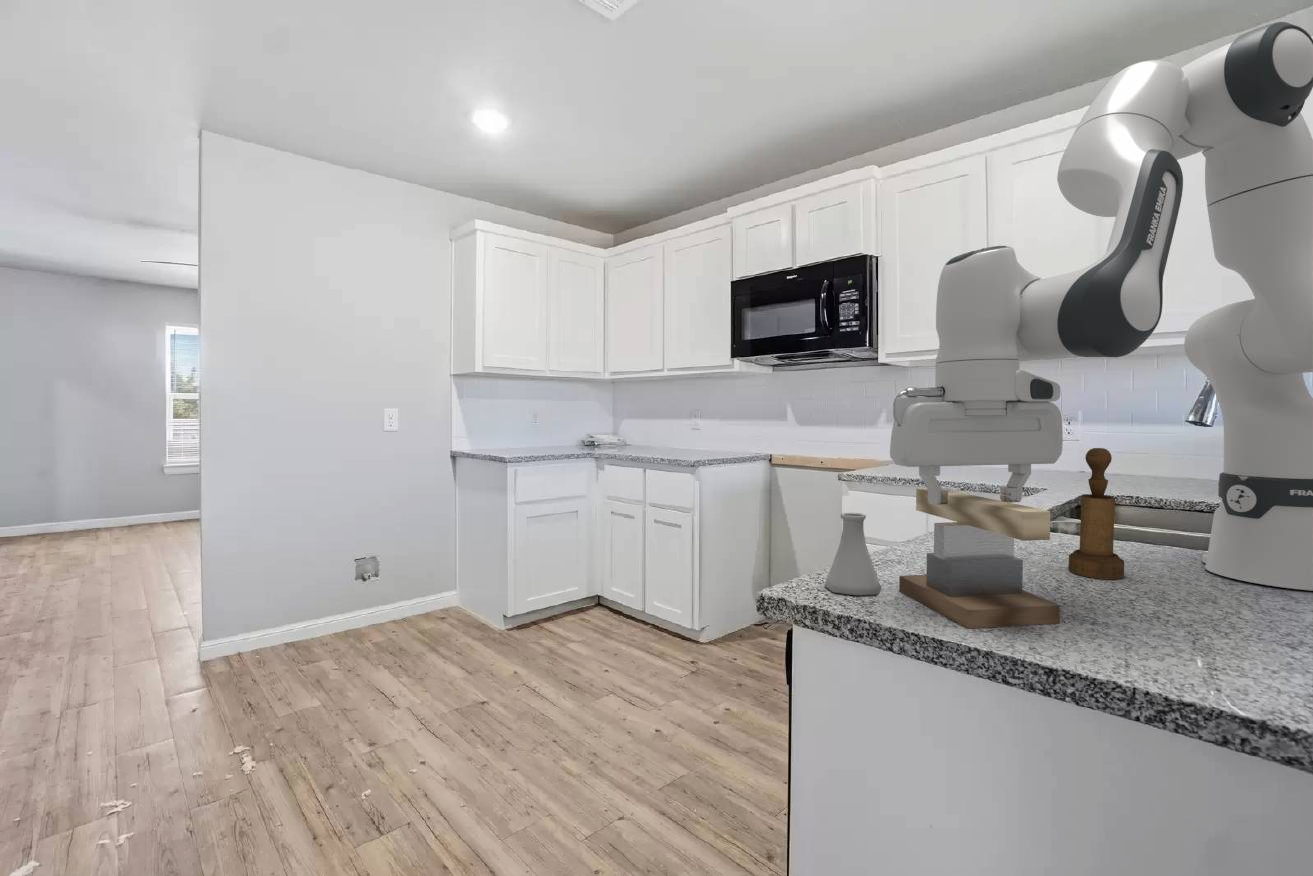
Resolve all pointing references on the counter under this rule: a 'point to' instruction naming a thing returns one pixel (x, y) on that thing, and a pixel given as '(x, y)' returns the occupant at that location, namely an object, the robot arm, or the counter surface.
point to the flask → (853, 561)
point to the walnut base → (983, 606)
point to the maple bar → (989, 515)
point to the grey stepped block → (972, 562)
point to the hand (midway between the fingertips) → (974, 503)
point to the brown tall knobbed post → (1097, 525)
